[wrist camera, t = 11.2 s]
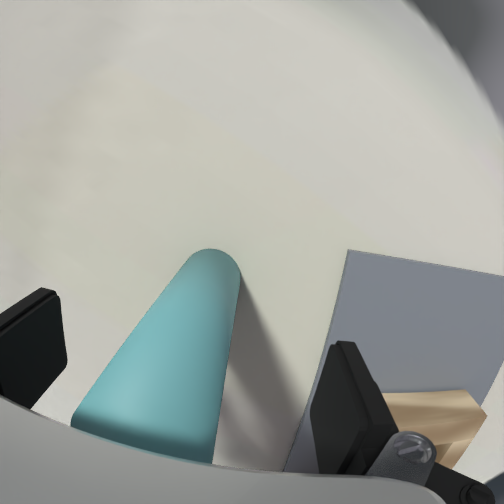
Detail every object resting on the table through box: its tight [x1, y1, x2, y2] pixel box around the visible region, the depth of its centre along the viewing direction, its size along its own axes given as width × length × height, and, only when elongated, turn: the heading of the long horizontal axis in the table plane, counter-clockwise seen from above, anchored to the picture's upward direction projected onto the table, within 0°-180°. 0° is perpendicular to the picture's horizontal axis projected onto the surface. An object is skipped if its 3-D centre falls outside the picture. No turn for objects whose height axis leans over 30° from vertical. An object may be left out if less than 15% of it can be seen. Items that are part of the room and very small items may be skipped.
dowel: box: [71, 249, 240, 464], centre depth 13 cm, size 4×4×14 cm
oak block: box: [382, 389, 487, 469], centre depth 20 cm, size 10×10×4 cm
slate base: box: [283, 250, 504, 474], centre depth 22 cm, size 24×18×1 cm
